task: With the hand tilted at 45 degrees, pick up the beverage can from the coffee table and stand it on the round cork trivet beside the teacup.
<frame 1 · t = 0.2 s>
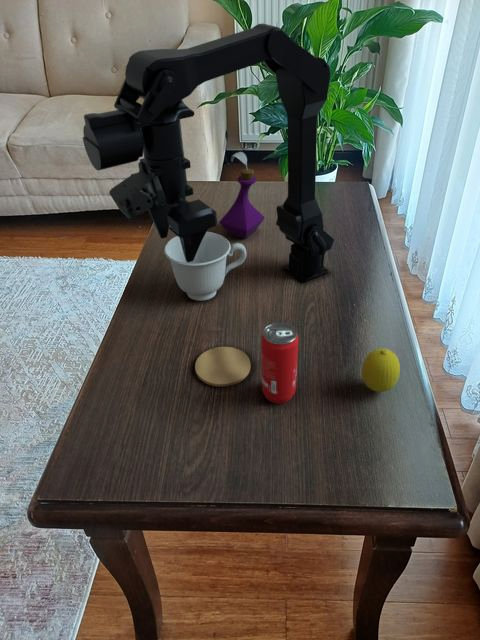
hand: (176, 249, 85), 15 cm above the table, tool pointing down, fingers open, 9 cm apart
teacup: (209, 292, 101), on the table
trivet: (222, 367, 85), on the table
beverage can: (278, 394, 80), on the table
lemon: (376, 390, 81), on the table
perfume bottle: (242, 233, 119), on the table
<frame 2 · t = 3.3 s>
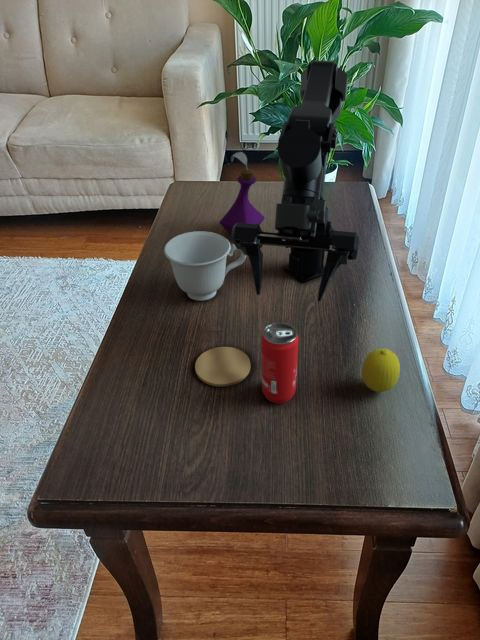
hand: (288, 297, 78), 12 cm above the table, tool tilted 45°, fingers open, 9 cm apart
nothing on the table moved.
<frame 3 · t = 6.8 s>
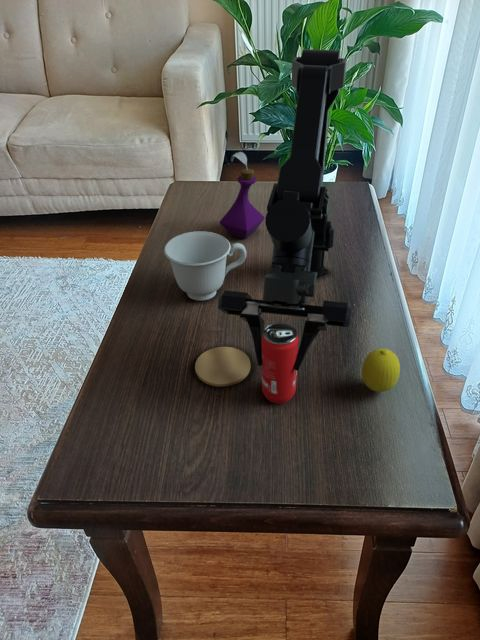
hand: (277, 368, 75), 7 cm above the table, tool tilted 45°, fingers closed on beverage can, 5 cm apart
beverage can: (278, 394, 80), on the table, touching gripper
everything else where it was.
when the fingers open (7 cm above the table, at t = 13.3 s): beverage can stays where it is, resting on trivet.
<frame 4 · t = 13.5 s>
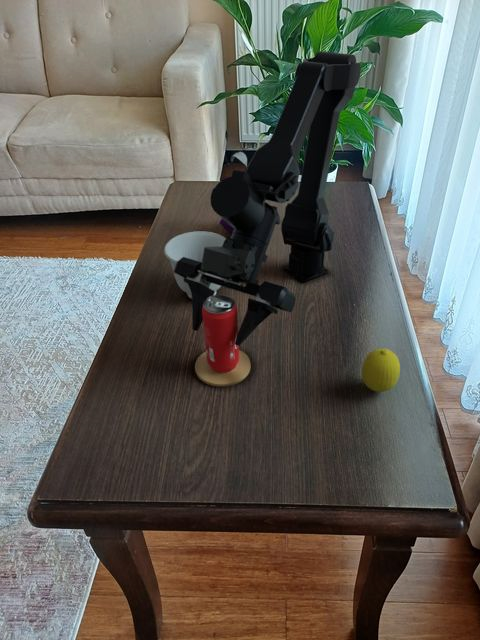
hand: (215, 337, 79), 7 cm above the table, tool tilted 45°, fingers open, 7 cm apart
beverage can: (223, 364, 85), resting on trivet
everything else where it was.
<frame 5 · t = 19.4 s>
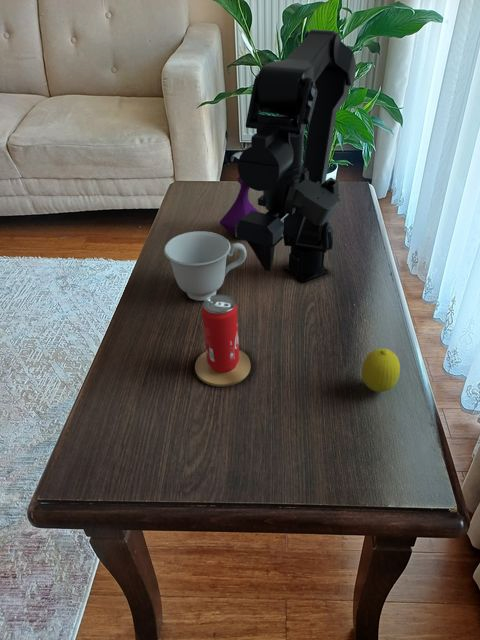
hand: (280, 257, 86), 13 cm above the table, tool pointing down, fingers open, 9 cm apart
nothing on the table moved.
at the end: beverage can 0.2 cm off-centre on the trivet, point 0.4 cm above the trivet's base; beverage can 21.8 cm from the teacup (horizontally); beverage can tilted 0° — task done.
